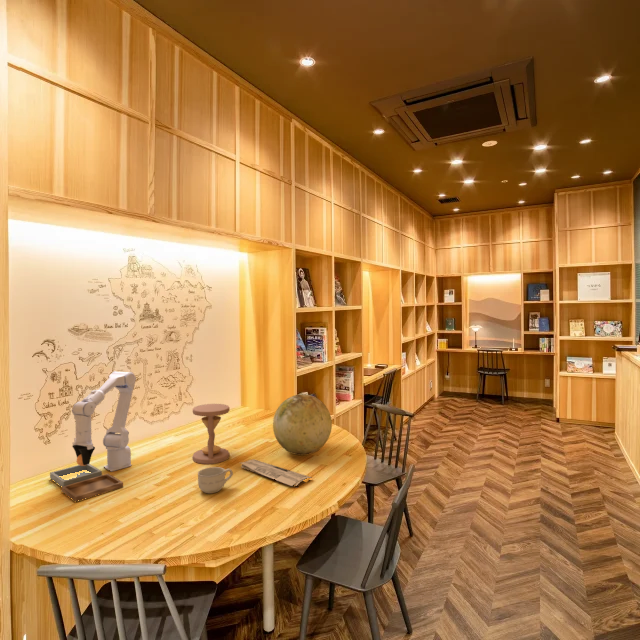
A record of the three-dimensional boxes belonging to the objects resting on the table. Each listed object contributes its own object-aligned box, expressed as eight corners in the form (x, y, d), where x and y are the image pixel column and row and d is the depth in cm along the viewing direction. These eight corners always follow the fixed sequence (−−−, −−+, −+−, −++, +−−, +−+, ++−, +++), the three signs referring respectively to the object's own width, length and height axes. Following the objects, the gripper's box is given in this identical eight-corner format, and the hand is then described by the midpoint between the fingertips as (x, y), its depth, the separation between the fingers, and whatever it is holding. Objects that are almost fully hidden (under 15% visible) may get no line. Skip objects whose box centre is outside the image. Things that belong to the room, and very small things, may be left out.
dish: (87, 469, 190) (87, 462, 190) (101, 477, 180) (101, 470, 180) (50, 479, 178) (50, 472, 178) (63, 489, 169) (63, 481, 169)
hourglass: (224, 464, 197) (224, 411, 196) (188, 464, 197) (187, 411, 196) (232, 451, 215) (232, 403, 214) (198, 451, 214) (198, 403, 214)
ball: (87, 462, 177) (87, 450, 177) (92, 465, 174) (92, 453, 174) (74, 465, 174) (74, 453, 173) (79, 468, 170) (79, 456, 170)
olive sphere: (287, 441, 232) (287, 387, 231) (338, 447, 222) (339, 391, 221) (262, 459, 204) (262, 398, 203) (320, 467, 194) (320, 403, 193)
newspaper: (312, 481, 179) (312, 473, 179) (293, 491, 169) (293, 482, 169) (255, 462, 201) (255, 455, 200) (235, 470, 191) (235, 463, 191)
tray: (107, 478, 180) (107, 473, 180) (123, 487, 171) (123, 482, 171) (61, 492, 166) (61, 486, 166) (75, 502, 157) (75, 497, 157)
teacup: (197, 497, 162) (197, 477, 162) (197, 486, 172) (197, 467, 172) (233, 493, 166) (233, 473, 166) (232, 482, 176) (232, 463, 176)
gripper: (66, 429, 175) (66, 461, 175) (79, 435, 166) (80, 469, 166) (84, 425, 181) (84, 456, 181) (98, 432, 171) (98, 464, 172)
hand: (83, 462), depth 174 cm, fingers closed on ball, 5 cm apart
